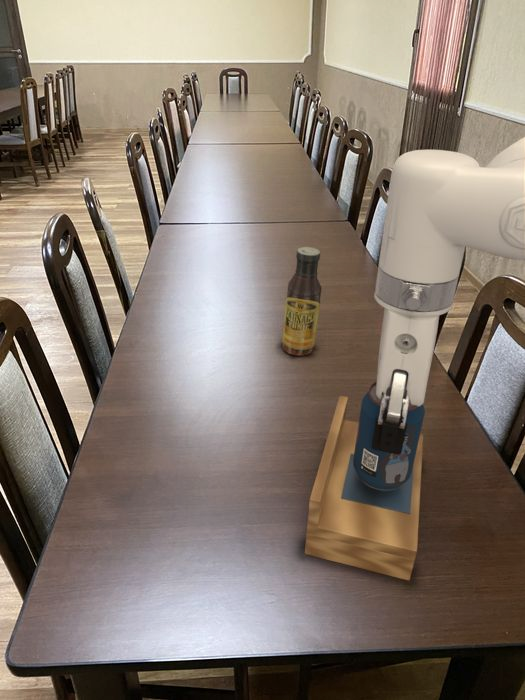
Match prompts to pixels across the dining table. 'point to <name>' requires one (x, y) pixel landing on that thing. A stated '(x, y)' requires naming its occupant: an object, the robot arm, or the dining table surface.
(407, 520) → the wooden block with lip
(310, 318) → the sauce bottle
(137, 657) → the dining table surface
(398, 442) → the robot arm
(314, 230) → the dining table surface
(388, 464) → the soda can
